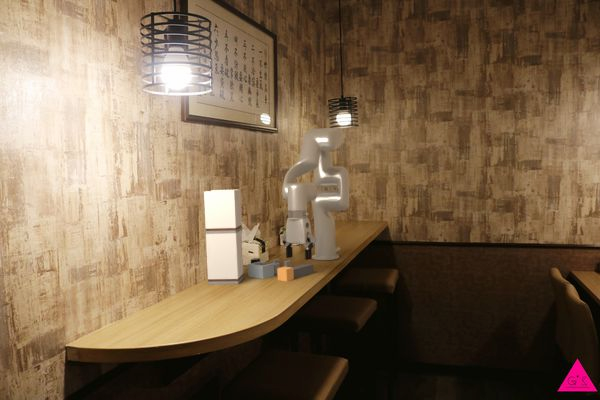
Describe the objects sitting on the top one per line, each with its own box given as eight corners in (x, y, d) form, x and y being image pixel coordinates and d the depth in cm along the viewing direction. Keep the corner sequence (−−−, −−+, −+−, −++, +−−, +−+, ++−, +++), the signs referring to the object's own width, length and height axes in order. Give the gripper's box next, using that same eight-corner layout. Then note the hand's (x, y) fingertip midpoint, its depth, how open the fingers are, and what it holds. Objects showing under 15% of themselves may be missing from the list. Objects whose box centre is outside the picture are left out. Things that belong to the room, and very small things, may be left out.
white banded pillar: (243, 278, 202) (240, 189, 200) (238, 284, 191) (234, 190, 189) (215, 278, 203) (211, 190, 201) (208, 284, 192) (203, 191, 190)
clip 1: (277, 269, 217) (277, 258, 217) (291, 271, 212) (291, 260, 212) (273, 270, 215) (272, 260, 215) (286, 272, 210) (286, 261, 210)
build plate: (258, 272, 214) (257, 261, 214) (242, 272, 216) (241, 261, 216) (268, 266, 226) (267, 256, 226) (252, 266, 228) (252, 256, 228)
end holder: (259, 273, 209) (259, 261, 209) (274, 275, 204) (273, 263, 204) (248, 276, 204) (247, 264, 204) (263, 279, 199) (262, 266, 199)
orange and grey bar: (305, 272, 209) (305, 261, 209) (314, 273, 206) (314, 262, 206) (277, 280, 196) (277, 268, 196) (286, 281, 193) (286, 269, 193)
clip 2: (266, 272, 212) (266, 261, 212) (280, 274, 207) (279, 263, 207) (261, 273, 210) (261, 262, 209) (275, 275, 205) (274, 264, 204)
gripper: (321, 214, 198) (322, 258, 199) (287, 213, 210) (288, 255, 210) (308, 216, 193) (309, 261, 193) (274, 215, 204) (276, 257, 204)
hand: (298, 258), depth 202 cm, fingers open, 9 cm apart
